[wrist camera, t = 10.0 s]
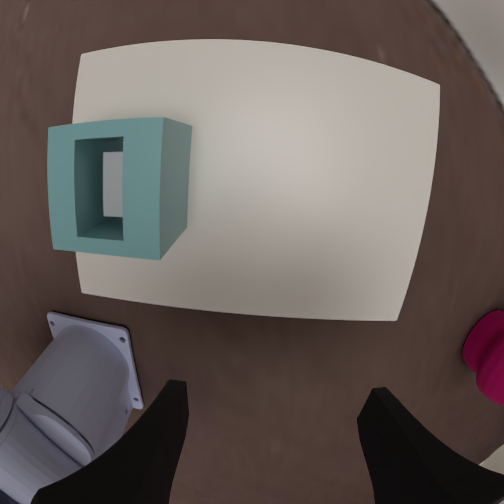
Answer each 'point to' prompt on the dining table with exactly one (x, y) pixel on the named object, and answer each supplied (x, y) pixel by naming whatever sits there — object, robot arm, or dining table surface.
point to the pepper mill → (487, 355)
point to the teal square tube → (133, 186)
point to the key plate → (272, 176)
